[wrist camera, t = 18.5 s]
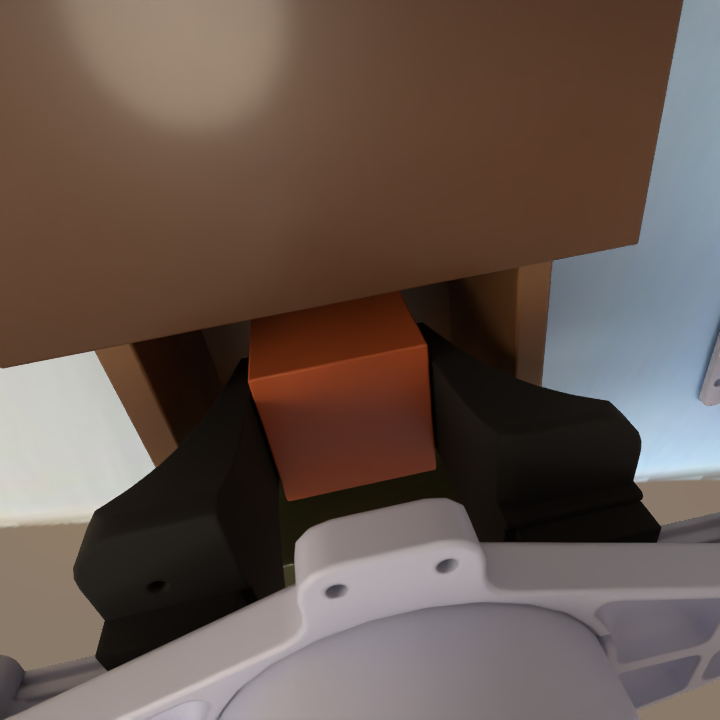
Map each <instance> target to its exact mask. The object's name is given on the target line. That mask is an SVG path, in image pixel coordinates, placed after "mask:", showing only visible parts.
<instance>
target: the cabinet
mask: <svg viewBox="0 0 720 720" xmlns="http://www.w3.org/2000/svg"><path fill="white" fill-rule="evenodd" d="M682 5H683V0H0V368H8V367H13V366H18V365H23V364H28V363H33V362H38V361H43V360H48V359H54V358H59V357H64V356H69V355H74V354H79V353H84V352H89V351H94V350H99V349H104V348H110V347H115V346H120V345H125V344H130V343H135V342H140V341H145V340H150V339H155V338H161V337H166V336H171V335H176V334H181V333H186V332H191V331H196V330H201V329H206V328H211V327H217V326H222V325H227V324H232V323H237V322H242V321H247V320H252V319H257V318H262V317H268V316H273V315H278V314H283V313H288V312H293V311H298V310H303V309H308V308H313V307H318V306H324V305H329V304H334V303H339V302H344V301H349V300H354V299H359V298H364V297H369V296H374V295H380V294H385V293H390V292H395V291H400V290H405V289H410V288H415V287H420V286H425V285H431V284H436V283H441V282H446V281H451V280H456V279H461V278H466V277H471V276H476V275H481V274H487V273H492V272H497V271H502V270H507V269H512V268H517V267H522V266H527V265H532V264H537V263H543V262H548V261H553V260H558V259H563V258H568V257H573V256H578V255H583V254H588V253H594V252H599V251H604V250H609V249H614V248H619V247H624V246H629V245H634V244H637V243H638V240H639V235H640V230H641V224H642V219H643V213H644V208H645V203H646V197H647V192H648V187H649V181H650V176H651V171H652V165H653V160H654V155H655V149H656V144H657V139H658V133H659V128H660V123H661V117H662V112H663V107H664V101H665V96H666V91H667V85H668V80H669V75H670V69H671V64H672V59H673V53H674V48H675V43H676V37H677V32H678V27H679V21H680V16H681V11H682Z"/></svg>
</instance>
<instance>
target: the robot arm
mask: <svg viewBox="0 0 720 720" xmlns="http://www.w3.org/2000/svg"><path fill="white" fill-rule="evenodd" d="M416 324H417V325H418V327H419V329H420V331H421V333H422V335H423V337H424V339H425V341H426V343H427V345H428V359H429V373H430V387H431V401H432V416H433V430H434V444H435V447H436V449H437V451H438V453H439V455H440V457H441V459H442V461H443V464H444V466H445V468H446V471H447V473H448V475H449V478H450V481H451V484H452V487H453V490H454V492H455V495H456V498H457V501H458V503H457V502H455V501H452V500H450V499H448V498H428V499H421V500H416V501H411V502H407V503H402V504H398V505H393V506H389V507H384V508H380V509H375V510H371V511H366V512H361V513H357V514H352V515H348V516H343V517H339V518H334V519H330V520H327V521H325V522H322V523H320V524H318V525H315V526H313V527H311V528H309V529H308V530H307V531H306V532H305V533H304V534H303V535H302V536H301V537H300V538H299V539H298V540H297V542H296V543H295V554H294V562H295V580H296V583H294V584H292V585H290V586H288V587H286V588H285V579H284V568H283V557H282V546H281V533H280V520H279V474H278V471H277V468H276V465H275V462H274V459H273V456H272V453H271V450H270V447H269V444H268V441H267V438H266V435H265V432H264V429H263V426H262V423H261V420H260V417H259V414H258V411H257V408H256V405H255V402H254V399H253V396H252V393H251V390H250V387H249V384H248V368H249V357H247V358H242V359H241V360H240V361H239V363H238V364H237V366H236V368H235V370H234V372H233V373H232V375H231V377H230V379H229V380H228V382H227V384H226V385H225V387H224V389H223V390H222V392H221V393H220V395H219V397H218V398H217V400H216V401H215V403H214V404H213V406H212V407H211V409H210V410H209V411H208V413H207V414H206V416H205V417H204V418H203V420H202V421H201V422H200V424H199V425H198V426H197V427H196V429H195V430H194V431H193V432H192V433H191V434H190V435H189V437H188V438H187V439H186V440H185V441H184V442H183V443H182V444H181V445H180V446H179V447H178V448H177V449H176V450H175V451H174V452H173V453H172V454H171V455H170V456H168V457H167V458H166V459H165V460H164V461H163V462H162V463H161V464H160V465H159V466H158V467H156V468H155V469H154V470H153V471H152V472H150V473H149V474H148V475H147V476H145V477H144V478H143V479H142V480H140V481H139V482H138V483H136V484H135V485H134V486H132V487H131V488H129V489H128V490H127V491H125V492H124V493H122V494H121V495H119V496H118V497H116V498H115V499H113V500H111V501H110V502H108V503H107V504H105V505H104V506H102V507H101V508H99V509H97V510H96V511H95V512H94V514H93V516H92V519H91V521H90V523H89V525H88V527H87V530H86V533H85V536H84V539H83V542H82V544H81V547H80V550H79V553H78V556H77V559H76V562H75V565H74V568H73V572H74V580H75V582H76V583H77V585H78V587H79V589H80V590H81V591H82V593H83V594H84V595H85V596H86V598H87V599H88V600H89V601H90V603H91V604H92V605H93V606H94V607H95V609H96V610H97V611H98V612H99V614H100V615H101V616H102V617H103V619H104V620H105V622H104V626H103V629H102V633H101V637H100V640H99V644H98V648H97V652H96V655H94V656H90V657H86V658H81V659H77V660H72V661H68V662H64V663H59V664H55V665H51V666H46V667H42V668H38V669H33V670H29V671H24V670H23V668H22V667H21V666H20V664H19V663H18V662H17V661H16V660H14V659H13V658H11V657H9V656H5V655H0V720H641V718H640V716H639V714H638V713H637V711H638V710H641V709H643V708H646V707H648V706H651V705H654V704H656V703H659V702H661V701H664V700H667V699H669V698H672V697H675V696H677V695H680V694H682V693H685V692H688V691H690V690H693V689H695V688H698V687H700V686H703V685H706V684H708V683H711V682H714V681H716V680H719V679H720V512H719V513H714V514H710V515H706V516H702V517H697V518H692V519H688V520H684V521H679V522H675V523H671V524H667V525H662V526H660V525H659V524H658V522H657V521H656V520H655V519H654V517H653V516H652V515H651V514H650V512H649V511H648V510H647V508H646V507H645V506H644V505H643V503H642V502H641V501H640V500H642V498H643V494H642V491H641V490H640V489H639V488H638V486H637V485H636V484H635V483H634V481H633V480H634V476H635V472H636V468H637V464H638V460H639V456H640V452H641V438H640V435H639V432H638V431H637V430H636V429H635V427H634V426H633V425H632V424H631V423H630V422H629V421H628V420H627V418H626V417H625V416H624V415H623V414H622V413H621V412H620V411H619V410H618V409H617V408H616V407H615V406H614V405H613V404H612V403H610V402H609V401H606V400H600V399H594V398H588V397H582V396H576V395H571V394H567V393H563V392H559V391H554V390H551V389H547V388H544V387H540V386H537V385H534V384H531V383H528V382H525V381H522V380H520V379H517V378H515V377H512V376H510V375H507V374H505V373H503V372H501V371H498V370H496V369H494V368H492V367H490V366H488V365H486V364H484V363H482V362H481V361H479V360H477V359H475V358H474V357H472V356H470V355H469V354H467V353H465V352H464V351H462V350H461V349H459V348H458V347H456V346H455V345H453V344H452V343H450V342H449V341H448V340H446V339H445V338H443V337H442V336H441V335H439V334H438V333H437V332H435V331H434V330H433V329H431V328H430V327H429V326H427V325H426V324H424V323H423V322H421V323H416ZM699 400H700V401H701V402H702V403H703V404H704V405H706V406H712V405H716V404H720V332H719V335H718V338H717V341H716V345H715V348H714V351H713V354H712V357H711V360H710V363H709V367H708V370H707V373H706V376H705V379H704V382H703V386H702V389H701V392H700V395H699Z"/></svg>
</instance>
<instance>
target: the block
mask: <svg viewBox="0 0 720 720" xmlns="http://www.w3.org/2000/svg"><path fill="white" fill-rule="evenodd" d="M248 384H249V387H250V390H251V393H252V396H253V399H254V402H255V405H256V408H257V411H258V414H259V417H260V420H261V423H262V426H263V429H264V432H265V435H266V438H267V441H268V444H269V447H270V450H271V453H272V456H273V459H274V462H275V465H276V468H277V471H278V474H279V478H280V481H281V484H282V487H283V490H284V493H285V496H286V499H287V500H288V501H293V500H298V499H302V498H307V497H311V496H316V495H321V494H325V493H330V492H334V491H339V490H344V489H348V488H353V487H357V486H362V485H367V484H371V483H376V482H380V481H385V480H390V479H394V478H399V477H403V476H408V475H413V474H417V473H422V472H426V471H431V470H435V469H436V458H435V444H434V430H433V416H432V401H431V387H430V373H429V359H428V345H427V343H426V341H425V339H424V337H423V335H422V333H421V331H420V329H419V327H418V325H417V324H416V322H415V320H414V318H413V316H412V314H411V312H410V310H409V308H408V306H407V304H406V302H405V300H404V298H403V296H402V294H401V292H400V291H395V292H390V293H385V294H380V295H374V296H369V297H364V298H359V299H354V300H349V301H344V302H339V303H334V304H329V305H324V306H318V307H313V308H308V309H303V310H298V311H293V312H288V313H283V314H278V315H273V316H268V317H262V318H257V319H252V320H251V325H250V346H249V368H248Z"/></svg>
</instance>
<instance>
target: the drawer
mask: <svg viewBox="0 0 720 720" xmlns="http://www.w3.org/2000/svg"><path fill="white" fill-rule="evenodd" d="M551 272H552V261H548V262H543V263H537V264H532V265H527V266H522V267H517V268H512V269H507V270H502V271H497V272H492V273H487V274H481V275H476V276H471V277H466V278H461V279H456V280H451V281H446V282H441V283H436V284H431V285H425V286H420V287H415V288H410V289H405V290H400V292H401V294H402V296H403V298H404V300H405V302H406V304H407V306H408V308H409V310H410V312H411V314H412V316H413V318H414V320H415V322H416V323H421V322H423V323H424V324H426V325H427V326H429V327H430V328H431V329H433V330H434V331H435V332H437V333H438V334H439V335H441V336H442V337H443V338H445V339H446V340H448V341H449V342H450V343H452V344H453V345H455V346H456V347H458V348H459V349H461V350H462V351H464V352H465V353H467V354H469V355H470V356H472V357H474V358H475V359H477V360H479V361H481V362H482V363H484V364H486V365H488V366H490V367H492V368H494V369H496V370H498V371H501V372H503V373H505V374H507V375H510V376H512V377H515V378H517V379H520V380H522V381H525V382H528V383H531V384H534V385H537V386H540V387H542V375H543V364H544V352H545V341H546V329H547V318H548V307H549V295H550V284H551ZM250 325H251V320H247V321H242V322H237V323H232V324H227V325H222V326H217V327H211V328H206V329H201V330H196V331H191V332H186V333H181V334H176V335H171V336H166V337H161V338H155V339H150V340H145V341H140V342H135V343H130V344H125V345H120V346H115V347H110V348H104V349H99V350H94V351H95V353H96V355H97V356H98V358H99V360H100V362H101V364H102V366H103V368H104V370H105V372H106V374H107V376H108V377H109V379H110V381H111V383H112V385H113V387H114V389H115V391H116V393H117V395H118V396H119V398H120V400H121V402H122V404H123V406H124V408H125V410H126V412H127V414H128V416H129V417H130V419H131V421H132V423H133V425H134V427H135V429H136V431H137V433H138V435H139V437H140V438H141V440H142V442H143V444H144V446H145V448H146V450H147V452H148V454H149V456H150V457H151V459H152V461H153V463H154V465H155V467H158V466H159V465H160V464H161V463H162V462H163V461H164V460H165V459H166V458H167V457H168V456H170V455H171V454H172V453H173V452H174V451H175V450H176V449H177V448H178V447H179V446H180V445H181V444H182V443H183V442H184V441H185V440H186V439H187V438H188V437H189V435H190V434H191V433H192V432H193V431H194V430H195V429H196V427H197V426H198V425H199V424H200V422H201V421H202V420H203V418H204V417H205V416H206V414H207V413H208V411H209V410H210V409H211V407H212V406H213V404H214V403H215V401H216V400H217V398H218V397H219V395H220V393H221V392H222V390H223V389H224V387H225V385H226V384H227V382H228V380H229V379H230V377H231V375H232V373H233V372H234V370H235V368H236V366H237V364H238V363H239V361H240V360H241V359H242V358H247V357H249V346H250ZM435 458H436V469H435V470H431V471H426V472H422V473H417V474H413V475H408V476H403V477H399V478H394V479H390V480H385V481H380V482H376V483H371V484H367V485H362V486H357V487H353V488H348V489H344V490H339V491H334V492H330V493H325V494H321V495H316V496H311V497H307V498H302V499H298V500H293V501H288V500H287V499H286V496H285V493H284V490H283V487H282V484H281V481H280V478H279V520H280V533H281V546H282V557H283V568H284V579H285V588H286V587H288V586H290V585H292V584H294V583H296V580H295V562H294V554H295V543H296V542H297V540H298V539H299V538H300V537H301V536H302V535H303V534H304V533H305V532H306V531H307V530H308V529H309V528H311V527H313V526H315V525H318V524H320V523H322V522H325V521H327V520H330V519H334V518H339V517H343V516H348V515H352V514H357V513H361V512H366V511H371V510H375V509H380V508H384V507H389V506H393V505H398V504H402V503H407V502H411V501H416V500H421V499H428V498H448V499H450V500H452V501H455V502H457V503H458V501H457V498H456V495H455V492H454V490H453V487H452V484H451V481H450V478H449V475H448V473H447V471H446V468H445V466H444V464H443V461H442V459H441V457H440V455H439V453H438V451H437V449H436V447H435Z"/></svg>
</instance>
